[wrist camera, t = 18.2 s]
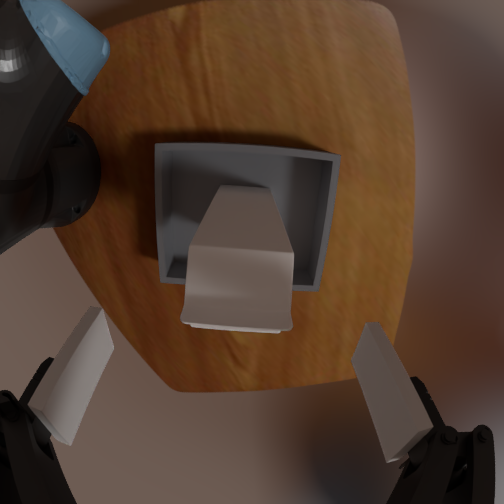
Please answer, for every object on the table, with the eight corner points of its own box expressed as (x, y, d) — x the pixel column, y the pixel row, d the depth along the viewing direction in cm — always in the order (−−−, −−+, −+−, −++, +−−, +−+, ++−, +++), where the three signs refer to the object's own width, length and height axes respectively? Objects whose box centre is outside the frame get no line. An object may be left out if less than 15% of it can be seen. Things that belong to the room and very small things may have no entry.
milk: (220, 184, 33) (173, 267, 12) (271, 188, 33) (305, 278, 13) (217, 231, 35) (180, 361, 15) (265, 235, 35) (285, 368, 15)
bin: (170, 264, 38) (160, 282, 33) (167, 141, 31) (154, 143, 26) (310, 272, 38) (318, 291, 34) (328, 151, 32) (340, 155, 27)
